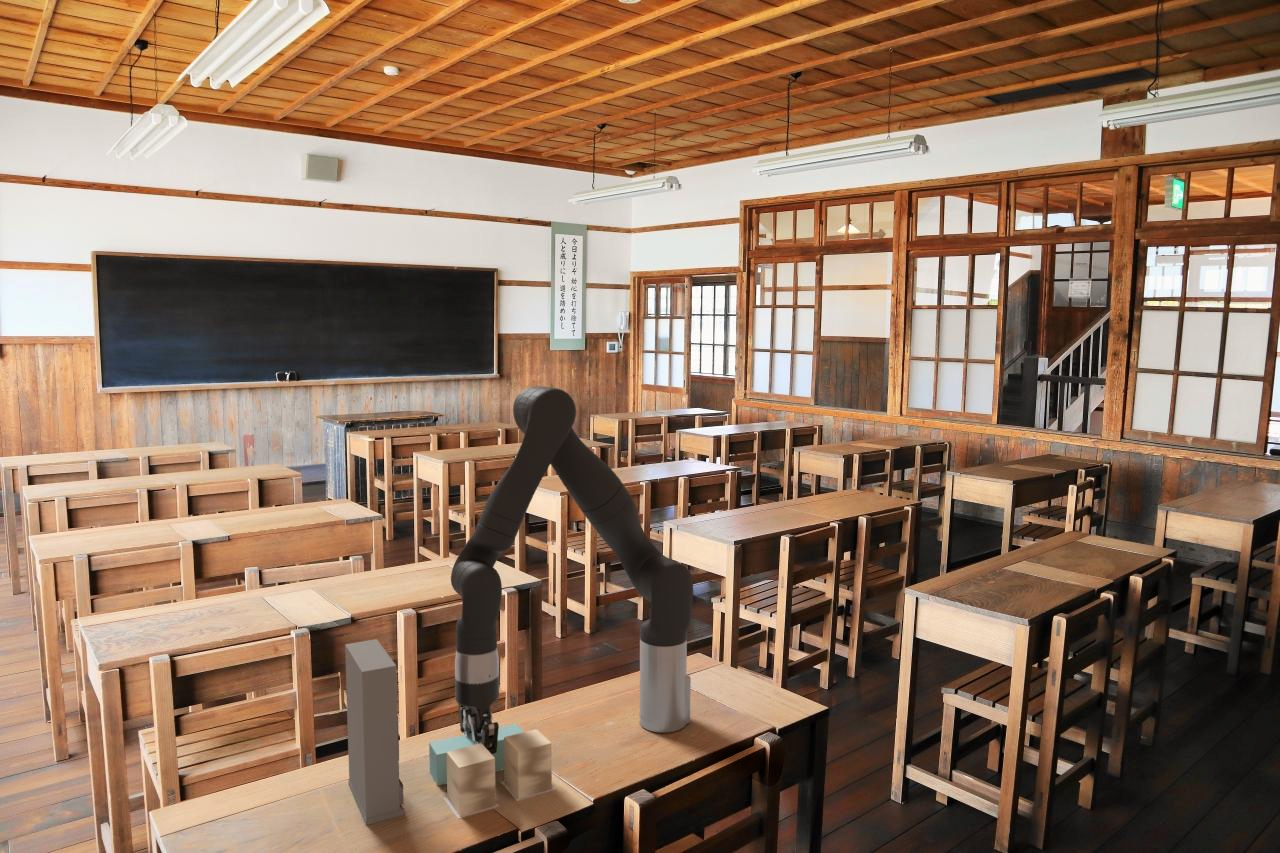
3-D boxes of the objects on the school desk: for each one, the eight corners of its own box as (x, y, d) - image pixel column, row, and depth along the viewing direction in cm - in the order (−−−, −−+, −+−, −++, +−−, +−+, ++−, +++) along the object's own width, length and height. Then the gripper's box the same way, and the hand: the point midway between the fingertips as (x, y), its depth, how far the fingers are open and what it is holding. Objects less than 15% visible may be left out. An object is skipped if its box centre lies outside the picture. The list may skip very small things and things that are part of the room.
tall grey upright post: (405, 817, 133) (401, 665, 131) (365, 828, 130) (361, 672, 128) (385, 778, 145) (381, 638, 143) (348, 787, 142) (344, 644, 140)
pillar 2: (536, 773, 146) (536, 729, 145) (551, 788, 141) (551, 743, 140) (504, 782, 143) (503, 737, 142) (518, 798, 138) (518, 752, 137)
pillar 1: (482, 788, 141) (481, 743, 140) (495, 805, 136) (494, 758, 135) (447, 798, 138) (446, 751, 137) (459, 816, 132) (458, 767, 132)
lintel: (517, 754, 154) (516, 723, 153) (526, 766, 149) (526, 734, 149) (429, 775, 146) (429, 742, 145) (437, 788, 142) (436, 754, 141)
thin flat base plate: (542, 768, 149) (542, 765, 149) (567, 793, 140) (567, 790, 140) (431, 799, 138) (431, 796, 138) (451, 829, 130) (451, 826, 130)
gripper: (513, 683, 142) (514, 779, 143) (482, 656, 154) (484, 745, 156) (470, 692, 138) (472, 790, 139) (442, 664, 150) (444, 755, 152)
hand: (478, 766), depth 147 cm, fingers closed on lintel, 5 cm apart
